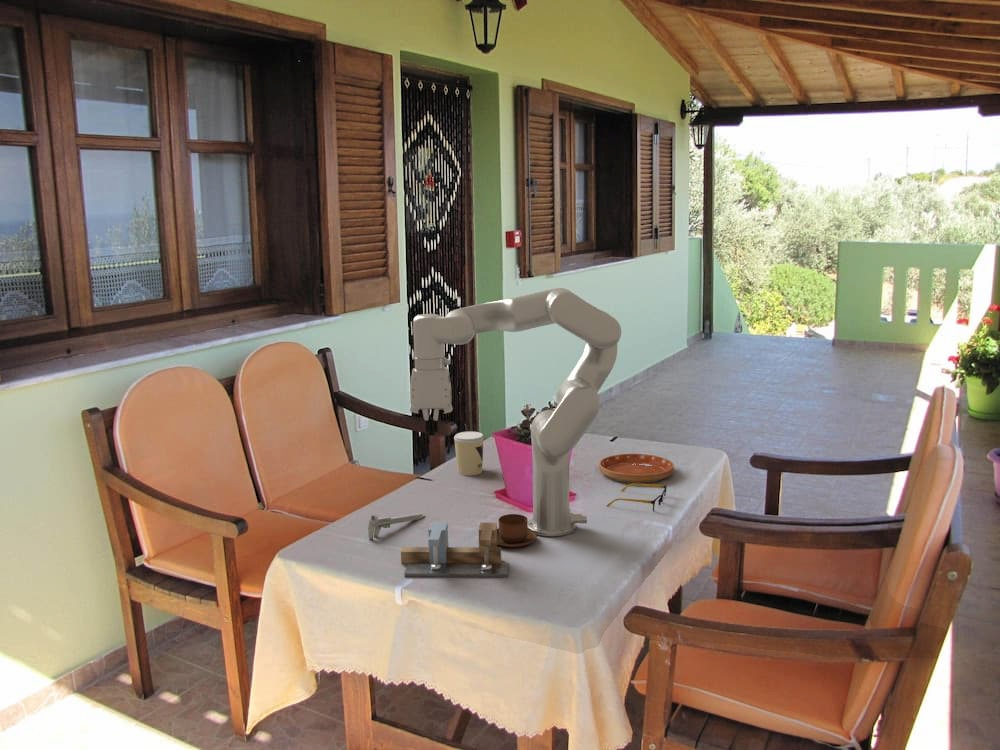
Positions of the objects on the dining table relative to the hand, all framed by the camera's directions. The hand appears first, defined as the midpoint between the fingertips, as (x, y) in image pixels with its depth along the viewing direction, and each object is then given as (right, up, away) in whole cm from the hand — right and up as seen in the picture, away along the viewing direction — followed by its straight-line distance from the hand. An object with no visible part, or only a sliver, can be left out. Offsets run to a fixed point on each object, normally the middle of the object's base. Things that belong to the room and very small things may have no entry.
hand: (432, 434), depth 236 cm
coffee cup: (+8, -16, +57) cm, 60 cm away
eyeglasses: (+56, -21, +28) cm, 66 cm away
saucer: (+59, -16, +52) cm, 81 cm away
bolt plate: (+7, -31, -17) cm, 36 cm away
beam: (+5, -31, -14) cm, 34 cm away
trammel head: (+2, -30, -14) cm, 34 cm away
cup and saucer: (+21, -28, 0) cm, 34 cm away
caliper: (-10, -26, +11) cm, 30 cm away
